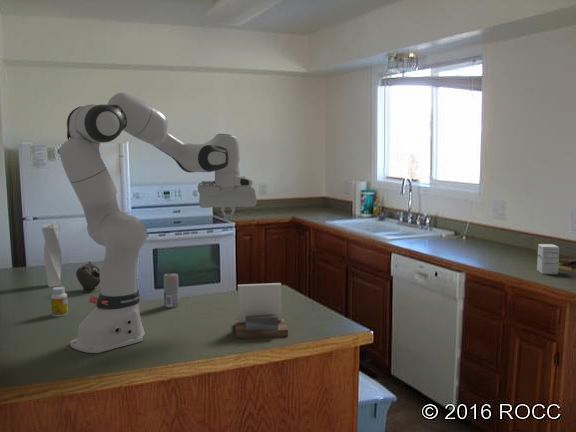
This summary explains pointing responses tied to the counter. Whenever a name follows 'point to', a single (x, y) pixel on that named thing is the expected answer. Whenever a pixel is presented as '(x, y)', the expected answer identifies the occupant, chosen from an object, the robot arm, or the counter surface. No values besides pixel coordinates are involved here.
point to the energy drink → (171, 290)
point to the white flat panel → (259, 300)
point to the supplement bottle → (59, 302)
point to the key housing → (261, 326)
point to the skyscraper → (52, 254)
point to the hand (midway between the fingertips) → (228, 219)
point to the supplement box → (548, 259)
